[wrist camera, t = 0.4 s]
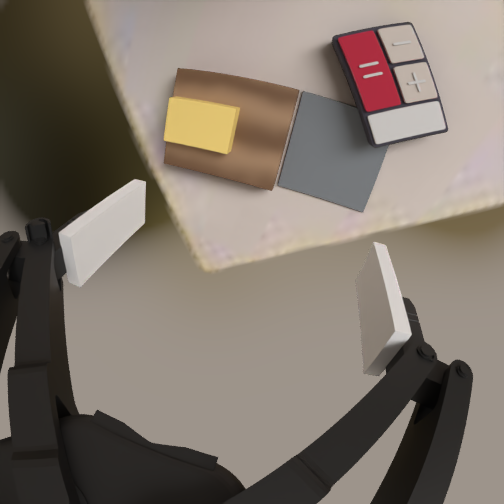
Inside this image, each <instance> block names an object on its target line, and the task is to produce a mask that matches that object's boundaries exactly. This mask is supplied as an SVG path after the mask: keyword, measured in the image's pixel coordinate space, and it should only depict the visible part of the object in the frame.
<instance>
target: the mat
mask: <svg viewBox="0 0 504 504" xmlns="http://www.w3.org/2000/svg"><path fill="white" fill-rule="evenodd" d="M387 148H388V145H386V146H382V147H378V148H374V147H372V146H371V145H370V144H369V143H368V141H367V138H366V134H365V131H364V128H363V125H362V122H361V119H360V115H359V111H358V108H355V107H353V106H350V105H347V104H344V103H341V102H338V101H335V100H331V99H328V98H325V97H322V96H318V95H315V94H312V93H308V92H304V91H303V94H302V98H301V101H300V105H299V109H298V113H297V116H296V120H295V124H294V128H293V131H292V135H291V139H290V142H289V146H288V150H287V154H286V157H285V161H284V165H283V168H282V172H281V176H280V179H279V183H278V186H281V187H285V188H288V189H292V190H295V191H298V192H302V193H305V194H308V195H311V196H314V197H318V198H321V199H324V200H327V201H330V202H333V203H336V204H339V205H342V206H345V207H348V208H351V209H354V210H357V211H360V212H363V211H364V209H365V206H366V204H367V202H368V199H369V197H370V194H371V191H372V189H373V186H374V184H375V181H376V178H377V176H378V173H379V170H380V168H381V165H382V162H383V160H384V157H385V154H386V151H387Z"/></svg>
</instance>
